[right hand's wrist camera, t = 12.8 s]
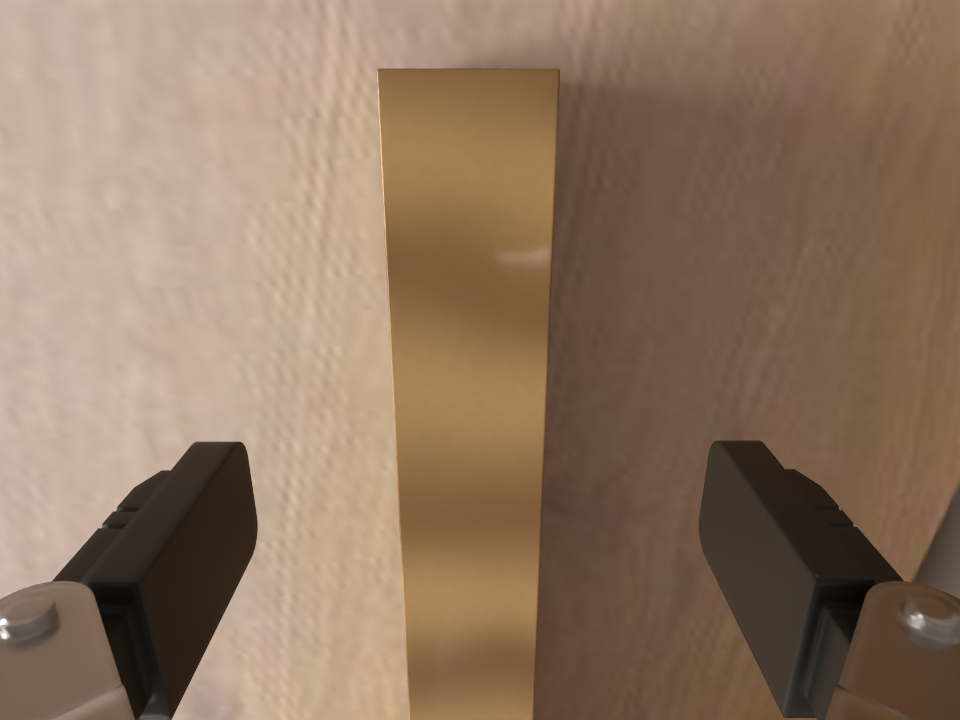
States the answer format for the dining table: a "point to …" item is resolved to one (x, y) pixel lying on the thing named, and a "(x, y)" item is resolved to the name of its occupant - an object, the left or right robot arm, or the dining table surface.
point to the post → (469, 373)
